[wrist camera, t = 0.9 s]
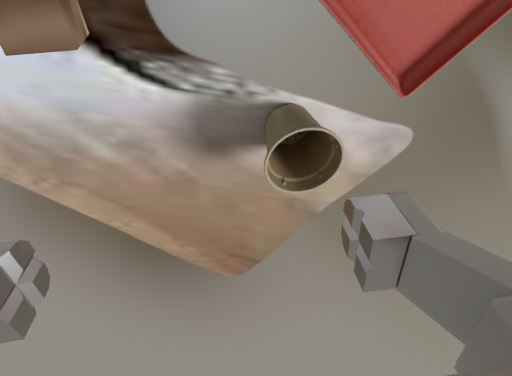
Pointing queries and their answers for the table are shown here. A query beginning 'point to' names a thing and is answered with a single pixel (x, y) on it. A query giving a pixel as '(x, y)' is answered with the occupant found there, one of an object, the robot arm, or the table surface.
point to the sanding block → (41, 26)
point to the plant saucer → (414, 33)
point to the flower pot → (300, 151)
